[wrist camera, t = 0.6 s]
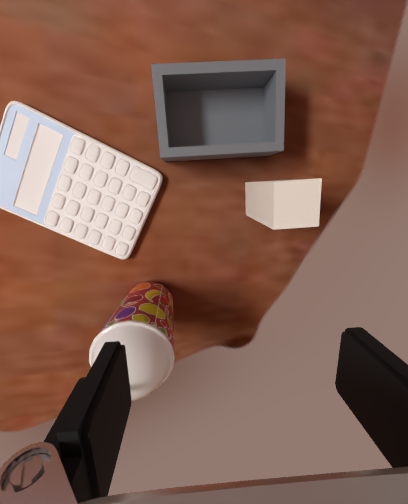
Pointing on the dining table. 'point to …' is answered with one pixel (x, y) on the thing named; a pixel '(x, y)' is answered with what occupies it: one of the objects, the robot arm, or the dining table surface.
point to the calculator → (73, 182)
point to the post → (284, 202)
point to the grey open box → (219, 109)
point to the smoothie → (142, 336)
